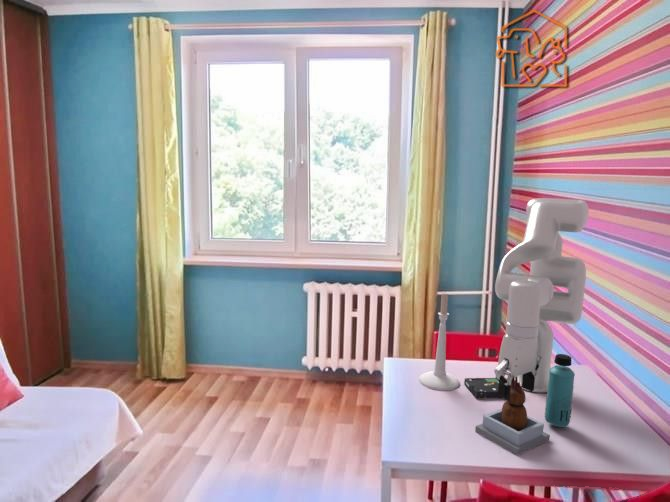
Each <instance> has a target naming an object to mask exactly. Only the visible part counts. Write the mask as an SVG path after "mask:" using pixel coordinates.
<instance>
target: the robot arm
mask: <svg viewBox="0 0 670 502" xmlns="http://www.w3.org/2000/svg"><path fill="white" fill-rule="evenodd" d="M525 209H526V211H525V212H526V217H527V221H526V223H527V224H526V226H525V231H524V235H523V239H522V242H520V243H519V244H518V245H516V246H514V247H513V248H511V249H510V250H508V252H507V253H506V254H505V255H504V256H503V258H502V260H501V261H500V264H499V266H498V272H497V275H496V277H495V278H496V279H495V285H494V292H495V294H496V296H497V298H499V299H500V300H503V301H507V309H506V310H507V311H506V312H507V313H506V322H505V323H506V324H505V334H504V335H503V336H502V337H503V338H502V341H501V345H500V350H499V355H498V363H497V366H496V367H495V368H494V371H493V372H494V375H495V378H496V379H497V381H498V382H499V386H498V396H499V397H501V398H500V399H503V400H505V401H508V400H510V390H511V385H509V384H510V382H511V380H512V378H513V377H514V380H515V379H516V377H517V379H518V382H520V386H522V390H523V391H528V392H531V393H541V394H542V393H547V391H548V381H549V370H550V368H551V364H552V356H553V355H552V354H553V346H554V331H553V329H552V327H551V326H550V324H549V323H548V322H555V323H560V324H567V325H576V324H578V323H579V322H580V320H581V318H582V314H583V306H584V297H585V287H586V278H587V268H586V264H585V262H584V260H582V259H580V258H577V257H572V256H571V257H569V256H562V252H563V251H562V250H563V243H564V241H563V238H562V236H561V234H560V233H559V232H563V233H564V232H566V233H580V232H582V231H583V229H584V228H585V226H586V225H587V221H588V220H589V206H588V203H587V202H586V201H585V200H582V199H567V198H566V199H565V198H550V197H541V198H540V197H537V198H533V199H530V200H529V201H528V202H527V204H526V208H525ZM527 263H530V271H529V274H524V273H517V272H512V271H513V270H514V269H515V268H516V267H518V266H521V265H523V264H527ZM555 288H565V289H566V290H567V291H568V292H566V291H559V290H555ZM505 376H507V377H505ZM505 378H507V379H505Z"/></svg>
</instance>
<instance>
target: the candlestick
mask: <svg viewBox="0 0 670 502" xmlns="http://www.w3.org/2000/svg"><path fill="white" fill-rule="evenodd" d="M440 298H441V299H440V300H441V301H440V311H439V312H437V314H438V319H439V320H440V323H439V328H438V337H437V344H436V345H437V346H436V353H435V361H434V369H433V370H430V371H426V372H424V373H422V374H420V375H419V378H418V381H419V383H420V384H421V385H422V386H423V387H426V388H428V389H432V390H436V391H452V390H455V389H457V388H459V387H460V380H459V379H458V378H457V377H456V376H455V375H453V374H451V373H450V372H446V371H447V370H446V368H447V367H446V362H447V361H446V358H447V357H446V352H447V351H446V349H447V347H446V346H447V324H446V322H447V320H448V317H449V316H450V313H449V312H448V302H449V293H448V292H442V293H441V297H440Z"/></svg>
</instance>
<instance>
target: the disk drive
mask: <svg viewBox="0 0 670 502" xmlns="http://www.w3.org/2000/svg"><path fill="white" fill-rule="evenodd" d="M507 378H508V377H505V379H507ZM463 384H464V386H465V387H466V389H467V390H468V391H469V392H470V393H471V395H472V396H473V397H474V398H475V399H480V400H482V399H502V398H501V397H499V396H498V386H499V382H498V381H497V379H496V377H468V378H464V383H463ZM509 385H511V382H510V384H509Z"/></svg>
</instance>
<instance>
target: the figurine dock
mask: <svg viewBox="0 0 670 502" xmlns="http://www.w3.org/2000/svg"><path fill="white" fill-rule="evenodd" d="M544 427H545V424H544V422H543V423H542V422H541V421H539V420H537V419H534V418H532V417H531V416H529V415H527V423H526V426H525V428H524V429H523V430H521V431H516V430H515V429H513V428H511V427H509V426H507V425H505V424H503V423H502V408H500V409H497V410H494V411H492V412H488V413H485V414H484V415H483V417H482V423H480V424H477V425H475V429H474V430H475V433H477V434H480V435H481V436H483V437H485V438H486V439H487V440H490V441H492V442H493V443H495V444H497V445H499V446H501V447H502V448H504V449H506V450H508V451H509V452H511V453H512V454H514V455H516V456H519V455H521V454H523V453H525V452H527V451H530V450H531V449H533V448H536V447H538V446H540V445H543V444H544V443H547V442H549V441H550V438H551V437H550V434H549V433H547V432H545V431H544V429H545V428H544Z"/></svg>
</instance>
